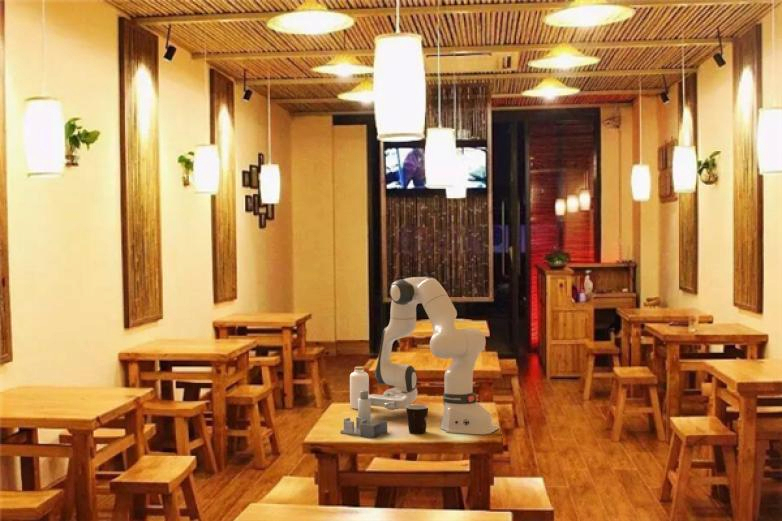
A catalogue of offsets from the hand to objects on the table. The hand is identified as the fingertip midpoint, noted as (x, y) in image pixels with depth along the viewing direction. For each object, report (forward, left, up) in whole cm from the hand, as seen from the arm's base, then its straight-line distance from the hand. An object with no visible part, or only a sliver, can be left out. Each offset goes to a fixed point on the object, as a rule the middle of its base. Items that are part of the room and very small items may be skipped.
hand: (375, 404), depth 359 cm
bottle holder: (-7, +20, -7) cm, 22 cm away
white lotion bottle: (0, +9, -7) cm, 11 cm away
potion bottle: (+21, -21, -7) cm, 31 cm away
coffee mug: (-24, +11, -7) cm, 27 cm away
